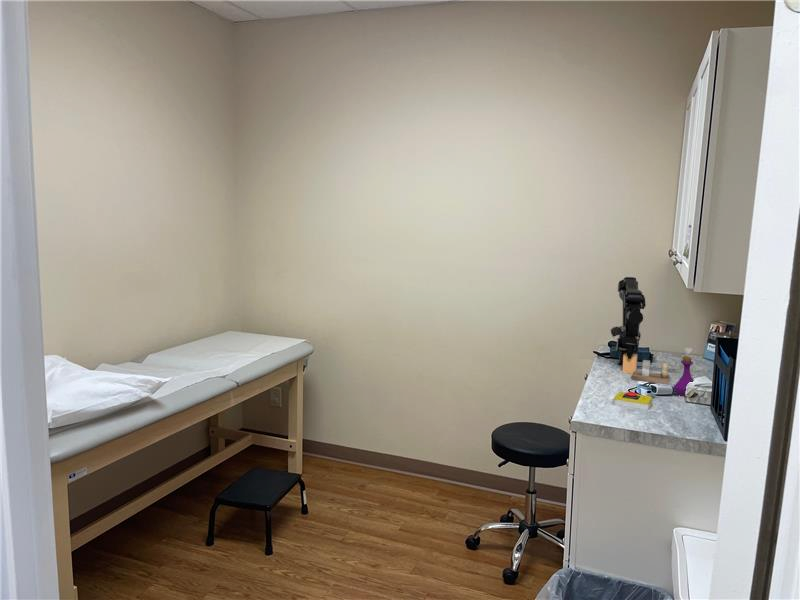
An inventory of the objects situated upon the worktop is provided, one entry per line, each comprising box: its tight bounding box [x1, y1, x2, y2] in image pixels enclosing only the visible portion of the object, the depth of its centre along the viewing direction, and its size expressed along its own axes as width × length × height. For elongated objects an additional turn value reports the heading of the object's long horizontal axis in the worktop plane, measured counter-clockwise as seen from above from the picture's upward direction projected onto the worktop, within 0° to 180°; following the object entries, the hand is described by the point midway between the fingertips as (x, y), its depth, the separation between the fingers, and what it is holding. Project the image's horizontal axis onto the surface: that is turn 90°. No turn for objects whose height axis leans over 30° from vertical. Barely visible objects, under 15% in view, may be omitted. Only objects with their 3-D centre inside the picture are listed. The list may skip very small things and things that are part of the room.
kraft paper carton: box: [622, 353, 638, 375], centre depth 247 cm, size 5×5×8 cm
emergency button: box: [609, 391, 659, 412], centre depth 200 cm, size 9×4×15 cm
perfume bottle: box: [672, 347, 695, 397], centre depth 211 cm, size 8×8×18 cm
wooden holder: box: [630, 359, 671, 385], centre depth 235 cm, size 10×14×8 cm
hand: (630, 356), depth 247 cm, fingers open, 9 cm apart
